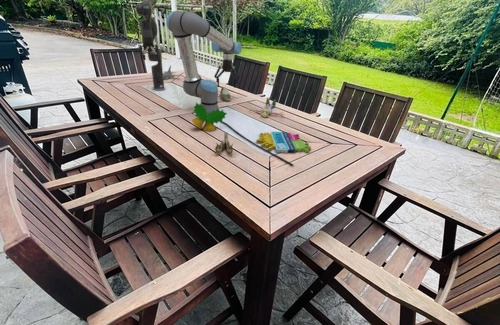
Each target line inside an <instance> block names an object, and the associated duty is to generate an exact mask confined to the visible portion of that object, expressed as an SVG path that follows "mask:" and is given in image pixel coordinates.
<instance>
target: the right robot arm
mask: <svg viewBox="0 0 500 325" xmlns="http://www.w3.org/2000/svg"><path fill="white" fill-rule="evenodd" d="M165 20H166V28H167V29H168V30H169V32H171V33H172V35H173V38H174V39H175V40H176V42H177V47H178V50H179V54H180V58H181V62H182V66H183V71H184V75H185V76H184V78H183V82H182V89H183V92H184V93H185V94H186V95H188V96H191V97H195V98H198V99H200V104H201V106H204V109H206V112H208V113H211V112H212V110H214V111H216V110H217V109H219V111H221V110H220V108H219V102H218V99H219V87H220V77H221V76H222V75H223V74H224V73H231V75H232V76H233V79H234V80H233V88H235V89H236V86H237V85H236V84H238V80H239V79H240V75H239V73H238V71H237V66H233V56H234V55H240V54H241V52H242V48H243V47H242V44H241V43H240V42H235V41H234V38H232V37H227V36H226V35H224V34H223V33H222V32H221V31H218V30H217V29H216V28H215V27H213V26H211V24H210V22H209V21H208V20H206V19H205V18H203V17H202V16H200V15H198V14H197V13H195V12H192V11H183V10H173V11H170V12H169V13H168V15H167V17H166V19H165ZM193 35H195V36H198V37H200V38H203V39H204V38H205V39H207V40H208V41H210V42H211V49H212V51H214V52H215V53H222V65H218V68H217V69H216V72H215V74H214V77H213V78H215V80H216V81H214V80H211V79H202V76H201V75H200V74H199V72H198V68H197V67H198V66H197V62H196V58H195V53H194V48H193V43H192V39H191V38H192V36H193ZM221 69H222V70H221ZM232 70H234V72H233V71H232ZM208 113H207V115H208ZM219 122H220V123H222V124H224V125H226V126H227V127H228V128H230V129H231V130H232V131H233V132H235V133H236V134H237V135H239V136H240V137H241V138H243V139H245V140H246V141H248V142H249V143H250V144H252V145H255V146H256V147H258V148H260V149H261V150H263V151H265V152H266V153H268V154H271V155H272V156H274V157H275V158H278V159H279V160H281V161H283V162H285V163H286V164H288V165H291V166H294V164H293V163H291V162H289V161H288V160H286V159H284V158H283V157H280V156H279V155H276V154H275V153H273V152H271V151H268V149H267V148H265V147H262V146H260V145H258V143H257V144H256V143H255V142H254V141H251V140H250V139H248V138H247V137H246V136H244V135H242V134H241V133H240V132H239V131H237V130H235V129H234V128H233V127H232V126H230V125H229V124H228V123H227V122H225V121H222V122H221V121H219Z"/></svg>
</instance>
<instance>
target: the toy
mask: <svg viewBox="0 0 500 325" xmlns="http://www.w3.org/2000/svg"><path fill="white" fill-rule="evenodd" d="M276 105H277V100H276V98H274V99H273V101H272V103H270V99H269V97H267V98H266V101H265V106H263V108H262V109H253V108H252V107H250V108H247V110H248V112H255V113H256V112H257V113H260V114H259V116H261V117H263V118H269V116H270V115H269V114H271V115H274V116H275V115H277V116H278V115H279V116H280V117H284V116H285V113H284V112H283V111H281V112H276V111H272V110H273V109H272V108H275V107H276Z"/></svg>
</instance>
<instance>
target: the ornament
mask: <svg viewBox="0 0 500 325" xmlns="http://www.w3.org/2000/svg"><path fill="white" fill-rule="evenodd" d="M219 110H220V108H219V109H217V110H216V111H214V110H212V112H211V113H208V112H206V109H204V106H201V103H198V102H195V105H194V106H193V112H194V113H195V118H192V119H191V122H192V123H193V125H195V127H197V128H198V129H202V130H203V131H206V132H212V131H213V132H214V131H215V130H216V126H215V124H218V123H219V122H220V121H221V122H220V123H222V122H223V119H226V115H227V114H228V113H227V112H224V110H223V109H221V110H220V111H219ZM207 113H208V115H207ZM214 123H215V124H214Z"/></svg>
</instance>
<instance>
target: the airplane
mask: <svg viewBox="0 0 500 325" xmlns="http://www.w3.org/2000/svg"><path fill="white" fill-rule="evenodd" d="M171 68H172V65H169V67H168V69H167V71H165V70H163V79H164V80H168V79H169V78H171V79H173V78H175V77H176V76H179V77H180V76H181V74H176V72H173V71H172V70H171Z"/></svg>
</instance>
